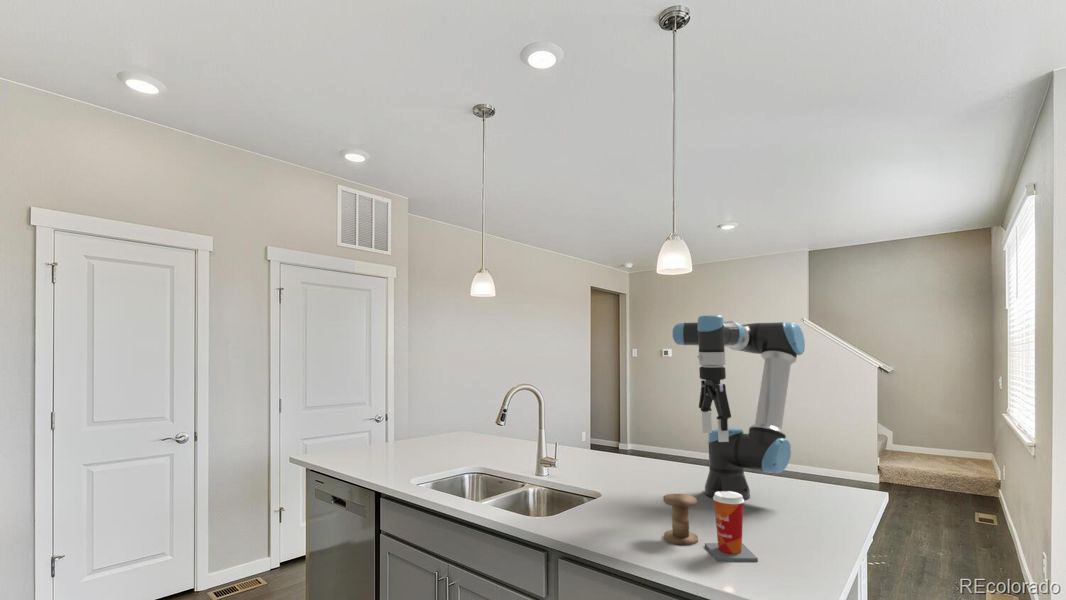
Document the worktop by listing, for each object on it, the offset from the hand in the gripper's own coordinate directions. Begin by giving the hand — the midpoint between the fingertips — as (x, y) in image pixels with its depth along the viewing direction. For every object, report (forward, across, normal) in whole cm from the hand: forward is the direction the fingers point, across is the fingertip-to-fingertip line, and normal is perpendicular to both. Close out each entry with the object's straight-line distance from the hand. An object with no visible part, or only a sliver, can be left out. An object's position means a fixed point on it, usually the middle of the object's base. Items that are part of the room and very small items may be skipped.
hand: (715, 437), depth 162 cm
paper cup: (+24, +22, -5) cm, 33 cm away
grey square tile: (+25, +22, -5) cm, 34 cm away
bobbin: (+25, +12, -15) cm, 31 cm away
